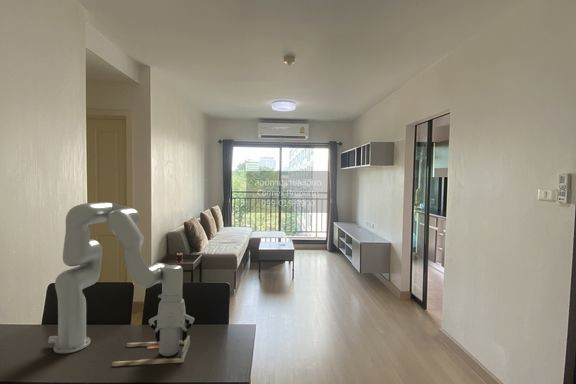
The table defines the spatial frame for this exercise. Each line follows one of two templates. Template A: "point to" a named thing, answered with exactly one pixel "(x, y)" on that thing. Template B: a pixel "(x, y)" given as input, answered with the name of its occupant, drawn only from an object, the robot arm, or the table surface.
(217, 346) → the table surface
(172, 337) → the can
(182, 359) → the tan bent flat bar
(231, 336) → the table surface
